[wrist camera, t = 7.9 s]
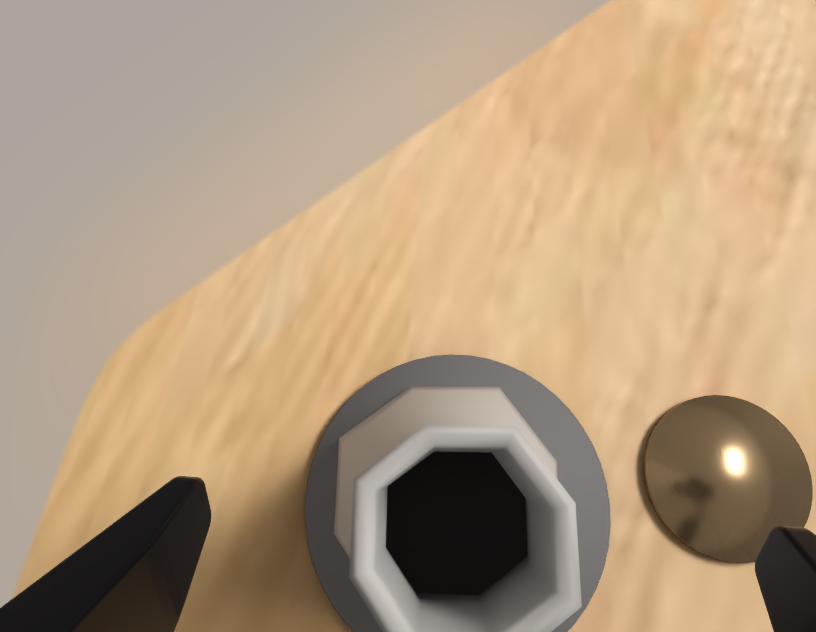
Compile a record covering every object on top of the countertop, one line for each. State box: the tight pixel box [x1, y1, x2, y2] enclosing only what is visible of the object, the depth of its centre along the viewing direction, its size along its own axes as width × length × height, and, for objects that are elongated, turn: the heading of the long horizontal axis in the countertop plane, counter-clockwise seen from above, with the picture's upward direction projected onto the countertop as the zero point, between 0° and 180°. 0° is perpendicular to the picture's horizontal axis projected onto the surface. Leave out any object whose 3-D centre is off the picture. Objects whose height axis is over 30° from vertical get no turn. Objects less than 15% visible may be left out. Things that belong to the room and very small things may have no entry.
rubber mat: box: [305, 355, 610, 632], centre depth 17 cm, size 10×10×1 cm
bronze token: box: [644, 395, 812, 563], centre depth 17 cm, size 5×5×1 cm
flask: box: [334, 386, 582, 632], centre depth 12 cm, size 7×7×10 cm
